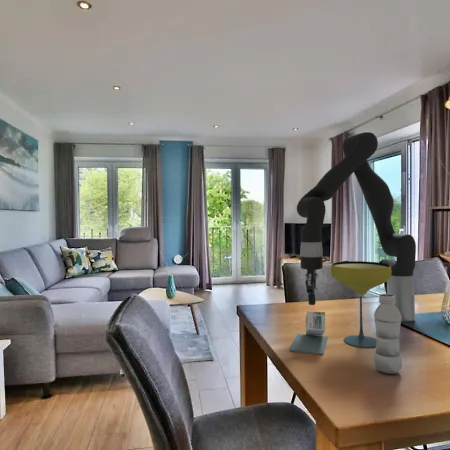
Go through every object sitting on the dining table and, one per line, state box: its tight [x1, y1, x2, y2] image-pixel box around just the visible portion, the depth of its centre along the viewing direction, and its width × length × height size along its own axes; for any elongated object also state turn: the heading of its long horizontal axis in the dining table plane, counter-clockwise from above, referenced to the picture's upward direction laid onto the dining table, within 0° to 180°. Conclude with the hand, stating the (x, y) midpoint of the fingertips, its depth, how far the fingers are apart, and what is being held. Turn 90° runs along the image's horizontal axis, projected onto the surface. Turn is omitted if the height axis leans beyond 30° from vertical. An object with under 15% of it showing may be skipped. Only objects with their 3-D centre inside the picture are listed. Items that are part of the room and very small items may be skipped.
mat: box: [288, 333, 328, 356], centre depth 112 cm, size 10×15×1 cm, turn 159°
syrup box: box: [305, 310, 326, 336], centre depth 114 cm, size 6×6×14 cm
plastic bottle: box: [373, 293, 403, 375], centre depth 91 cm, size 6×7×20 cm
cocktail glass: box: [330, 260, 392, 349], centre depth 113 cm, size 18×18×25 cm
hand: (312, 304), depth 122 cm, fingers closed
